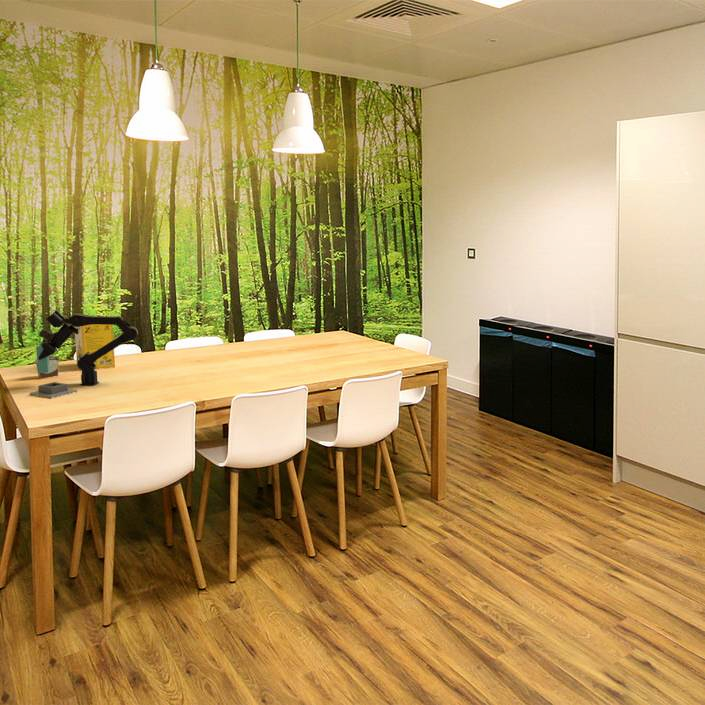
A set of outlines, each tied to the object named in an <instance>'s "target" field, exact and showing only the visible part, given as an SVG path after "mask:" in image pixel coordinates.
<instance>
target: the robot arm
mask: <svg viewBox="0 0 705 705" xmlns="http://www.w3.org/2000/svg"><path fill="white" fill-rule="evenodd" d="M45 321H46V322H47V323H48V324H49V325H51V326H52V327H53V328H54V329H55V328H58V330H57V331H55V332H53V331H50V330H48V329H45V328H41V330H40V331H39V334H38V337H40V338H44V339H46V340H47V341H45V342H43V345H42V347H43V351H42V353H41V354H40V356H39V358H38V359H39V360H41V359H43V358H45V357H48V356H54V354H55V353H57V351H58V350H60V349H61V348H62V346H63V345H64V343H65V342H66V341H67V340H69V338H70V337H72V336H73V334H75V333H76V334H77V335H78V334H79V328H75V327H80V326H85V325H91V324H101V325H115V326H117V327H118V328H119V329H120V331H121V332H122V333H120V334H119V335H118V336H117V337H115V338H113V340H112V341H111V342H109V343H108V344H106V345H104V346H103V347H101V348H100V349H98V350H96V351H95V352H93V353H89V351H88V352H87V353H86V354H84V355H81V356H80V359H79V360H78V362H77V361H76V366H77V368H78V369H79V370H81V374H80V380H81V383H80V385H81V386H95V385H97V384H99V383H100V381H98V371H97V369H96V365H95V364H94V362H95V361H96V360H97V359H99V358H100V357H102V356H103V355H105V354H107V353H108V352H110V351H111V350H113V349H114V350H115V349H116V348H117V347H119V346H121V345H122V344H125V343H128V342H131V341H134V340H135V339H136V338H137V337H138V335H139V330H138V328H137V327H136V326H132V325H131V324H130V323H129V322H127V320H125V319H124V318H123V317H122V316H121V315H117V316H113V315H112V316H111V315H110V316H109V315H108V316H107V315H106V316H104V315H103V316H101V315H100V316H99V315H88V314H85V313H79V312H78V313H75V314H73V315H72V316H67V317H65V316H64V315H62V314H61V312H59V310H57V309H55V310H54V312H52V313H51V314H50V315H49V316H48V317H47V318H46V319H45ZM74 326H75V327H74Z"/></svg>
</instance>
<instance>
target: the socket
mask: <svg viewBox="0 0 705 705" xmlns="http://www.w3.org/2000/svg"><path fill="white" fill-rule="evenodd" d="M68 385H69V383H65V382H63V383H62V382H59V381H58V382H57V381H53V382H49V383H45V384H40V385H37V386H38V387H37V389H38V390H35V391H31V392H29V395H30V394H32V395H31V396H34V395H38V396H37V397H40V396H44V397H43V398H45V397H49V398H48V399H53V398H52V397H55V398H58V397H57V396H59V397H62V396H61V395H63V396H66V395H65V394H67V395H70V394H69V393H71V394H74V393H73V392H75V393H77V392H78V390H77V389H76V388H75V389H73V388H69V386H68Z"/></svg>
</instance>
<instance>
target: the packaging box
mask: <svg viewBox="0 0 705 705" xmlns="http://www.w3.org/2000/svg"><path fill="white" fill-rule="evenodd" d="M74 327H75V326H74ZM75 328H79V334H78V335H77V334H76V333H74V342H75V357H76V363H77V362H78V360H79V359H80V356H81V355H84V354H86V353H87V352H88V351H89V353H93V352H95V351H96V350H98V349H100V348H101V347H103V346H104V345H106V344H108V343H109V342H111V341H112V340H114V326H113V325H101V324H91V325H85V326H80V327H75ZM94 364H95V365H96V369H95V370H101V369H100V368H105V369H111V368H110V367H114V368H116V363H115V349H113V350H111V351H110V352H108V353H107V354H105V355H103V356H102V357H100V358H99V359H97V360H96V361H95V362H94Z"/></svg>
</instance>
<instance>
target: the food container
mask: <svg viewBox="0 0 705 705" xmlns="http://www.w3.org/2000/svg"><path fill="white" fill-rule="evenodd" d="M59 361H60V357H59V356H56V355H50V356H49V364H50V371H49V372H48V373H38V365H37V357H36V358H35V360H34V364H35V365H36V369H37V370H36V371H37V375H38V379H39V378H40V379H39V380H42V379H41V378H44V379H49V378H48V377H50V378H54V377H53V376H56V377H59Z"/></svg>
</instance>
